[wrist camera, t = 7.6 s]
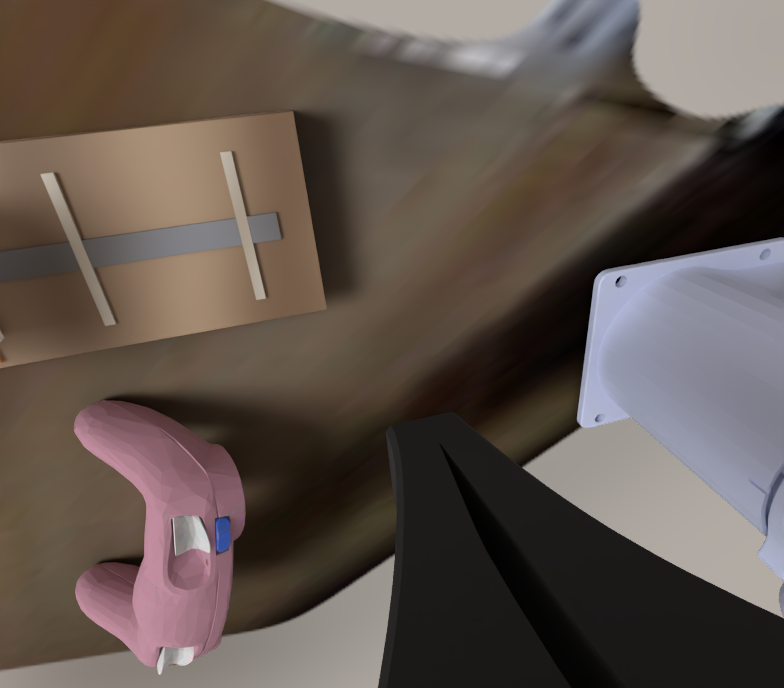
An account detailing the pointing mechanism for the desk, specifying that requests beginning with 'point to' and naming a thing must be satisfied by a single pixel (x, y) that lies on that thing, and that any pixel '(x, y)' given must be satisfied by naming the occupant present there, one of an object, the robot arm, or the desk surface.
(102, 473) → the desk surface
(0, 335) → the fader tab
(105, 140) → the fader board
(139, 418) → the video game controller
